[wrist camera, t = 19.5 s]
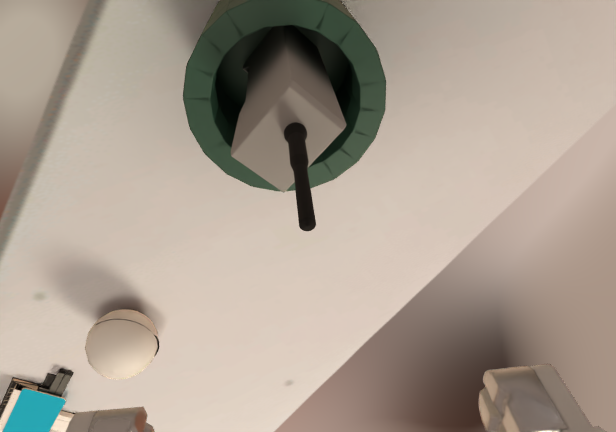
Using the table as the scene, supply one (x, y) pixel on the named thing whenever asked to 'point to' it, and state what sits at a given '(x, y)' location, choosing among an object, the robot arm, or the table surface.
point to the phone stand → (35, 405)
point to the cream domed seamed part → (121, 344)
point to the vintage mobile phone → (287, 114)
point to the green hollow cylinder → (233, 79)
